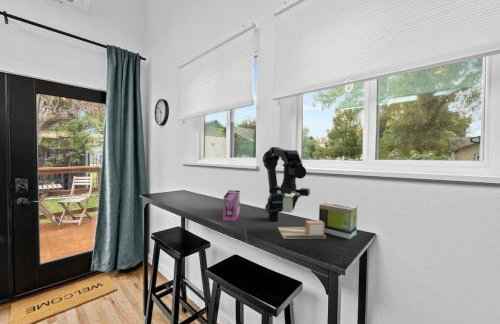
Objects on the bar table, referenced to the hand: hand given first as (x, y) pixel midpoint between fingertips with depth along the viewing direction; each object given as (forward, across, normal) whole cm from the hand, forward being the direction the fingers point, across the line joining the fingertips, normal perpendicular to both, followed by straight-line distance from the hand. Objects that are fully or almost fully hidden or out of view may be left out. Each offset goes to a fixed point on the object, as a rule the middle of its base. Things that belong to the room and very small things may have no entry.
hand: (288, 208), depth 107 cm
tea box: (+13, +22, +10) cm, 27 cm away
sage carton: (+1, 0, 0) cm, 1 cm away
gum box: (+13, -39, +15) cm, 44 cm away
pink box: (+11, +12, -1) cm, 17 cm away
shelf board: (+13, +6, +1) cm, 14 cm away
